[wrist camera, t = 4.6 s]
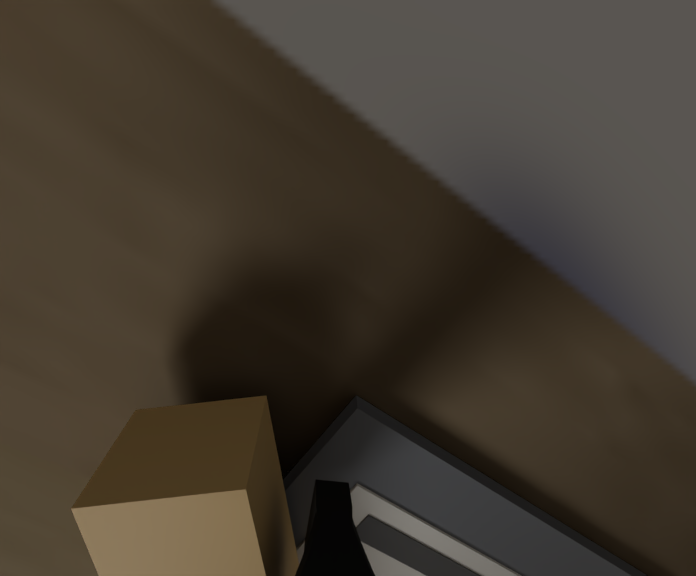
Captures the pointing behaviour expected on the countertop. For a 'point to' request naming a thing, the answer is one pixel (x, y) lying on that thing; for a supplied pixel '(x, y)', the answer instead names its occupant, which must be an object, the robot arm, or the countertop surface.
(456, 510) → the label plate
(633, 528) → the countertop surface
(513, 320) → the countertop surface
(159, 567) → the bar
